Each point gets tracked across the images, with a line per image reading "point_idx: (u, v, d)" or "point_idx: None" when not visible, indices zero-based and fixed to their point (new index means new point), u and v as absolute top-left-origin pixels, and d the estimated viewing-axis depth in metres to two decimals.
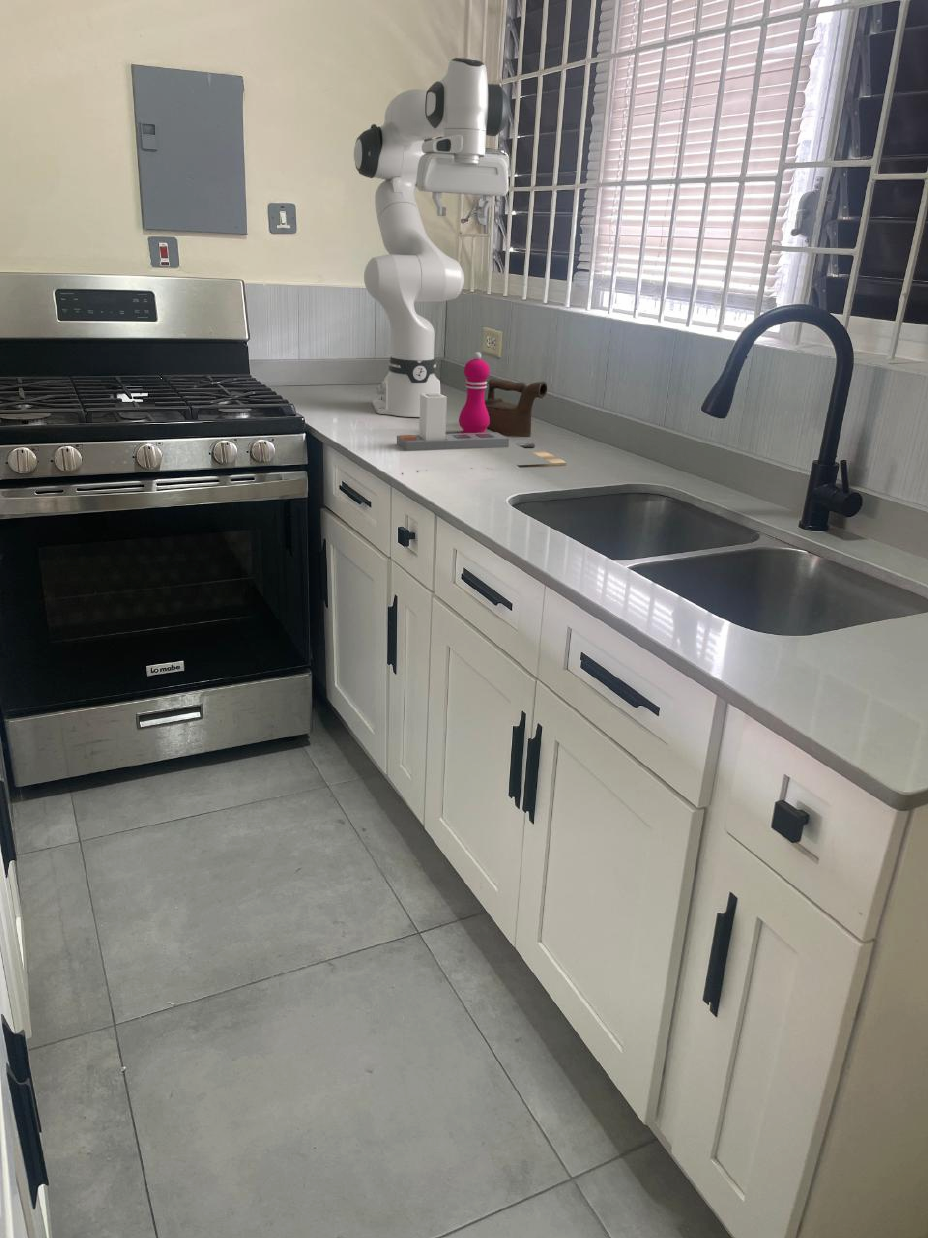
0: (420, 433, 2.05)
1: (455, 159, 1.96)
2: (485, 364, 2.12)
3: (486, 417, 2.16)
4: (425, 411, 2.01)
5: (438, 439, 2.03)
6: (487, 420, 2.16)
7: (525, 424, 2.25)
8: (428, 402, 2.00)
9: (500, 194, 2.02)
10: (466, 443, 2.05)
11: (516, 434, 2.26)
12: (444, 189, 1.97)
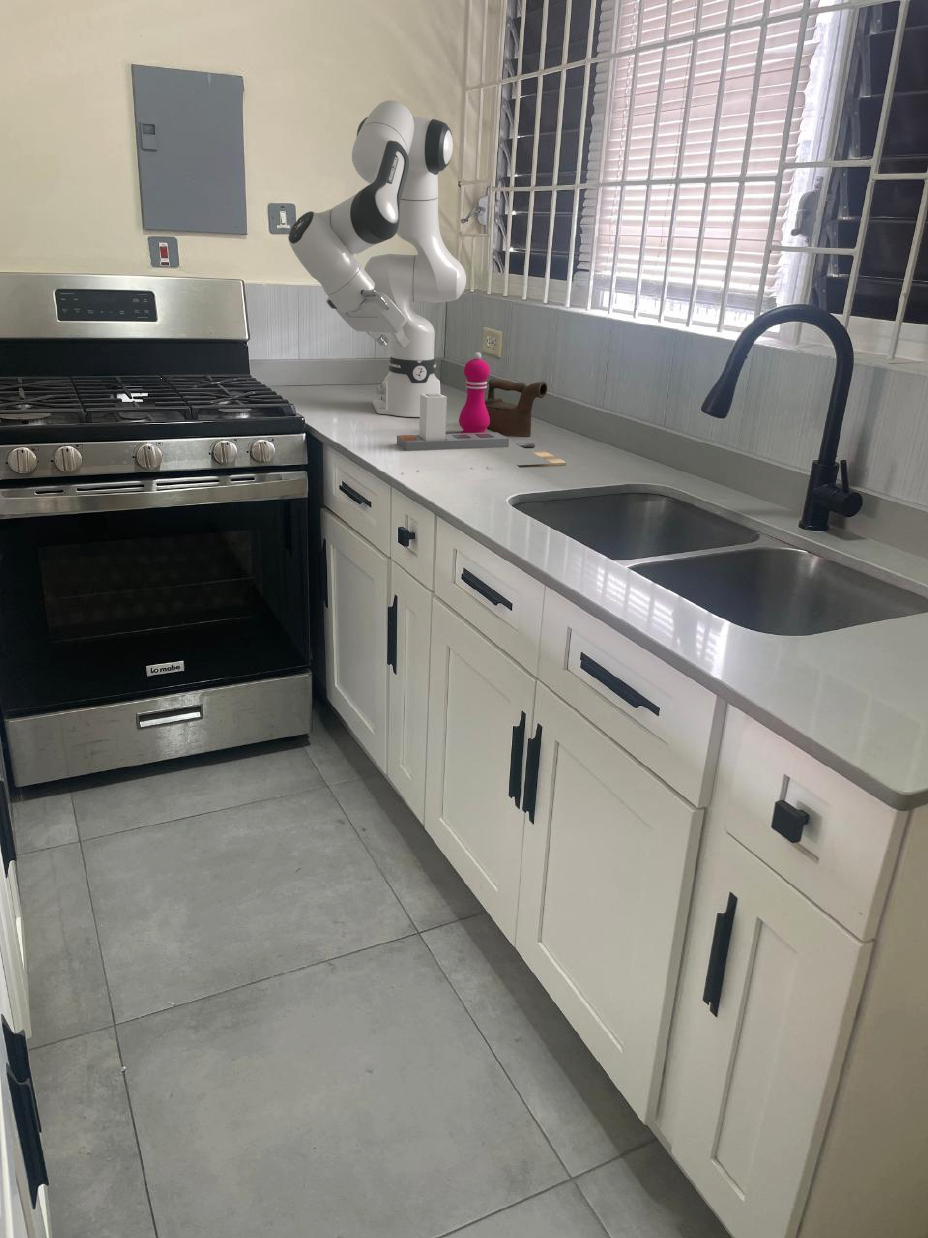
0: (420, 433, 2.05)
1: None
2: (485, 364, 2.12)
3: (486, 417, 2.16)
4: (425, 411, 2.01)
5: (438, 439, 2.03)
6: (487, 420, 2.16)
7: (525, 424, 2.25)
8: (428, 402, 2.00)
9: (392, 332, 1.84)
10: (466, 443, 2.05)
11: (516, 434, 2.26)
12: (364, 330, 1.94)
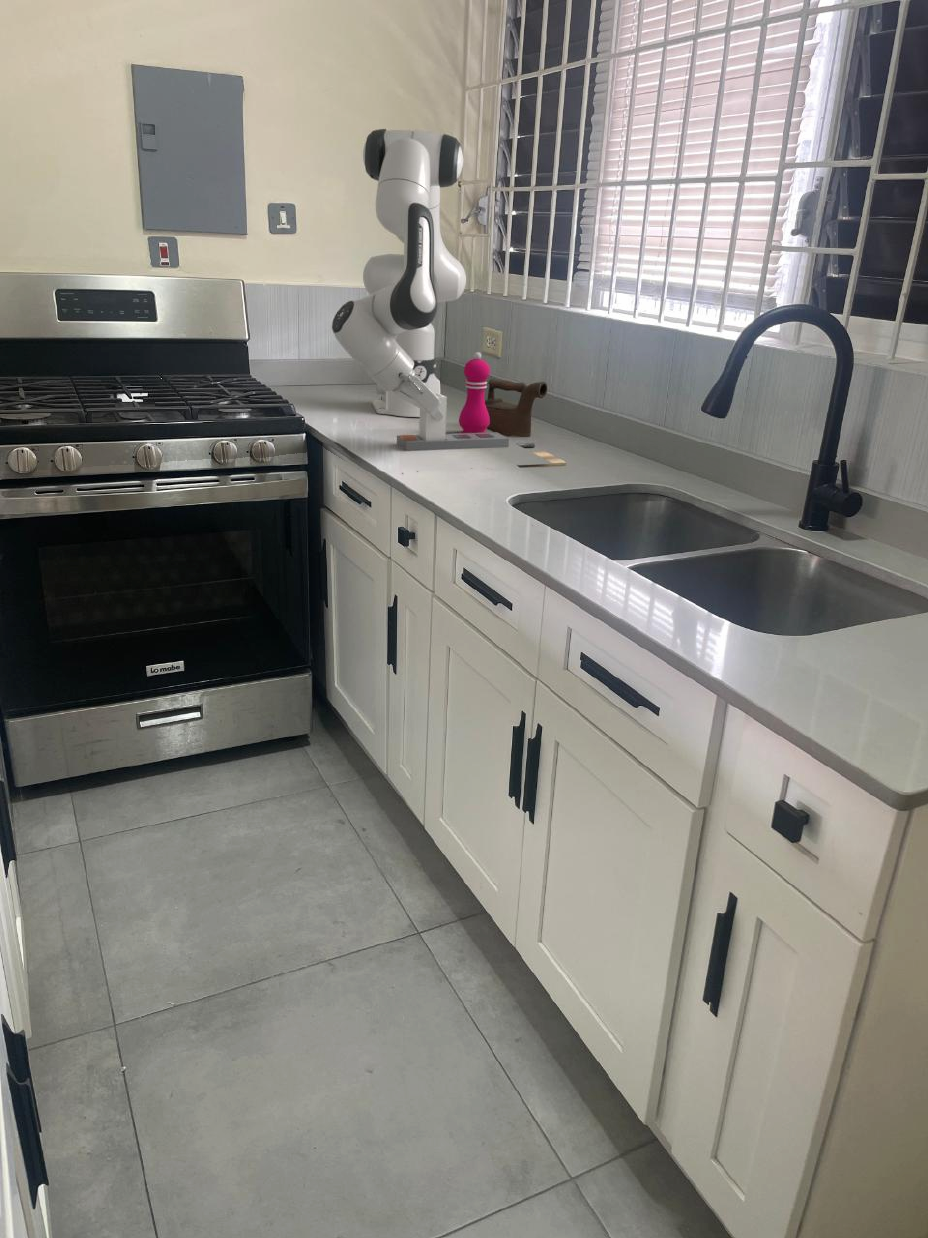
0: (420, 433, 2.05)
1: None
2: (485, 364, 2.12)
3: (486, 417, 2.16)
4: None
5: (438, 439, 2.03)
6: (487, 420, 2.16)
7: (525, 424, 2.25)
8: None
9: (428, 413, 1.94)
10: (466, 443, 2.05)
11: (516, 434, 2.26)
12: (407, 401, 2.05)
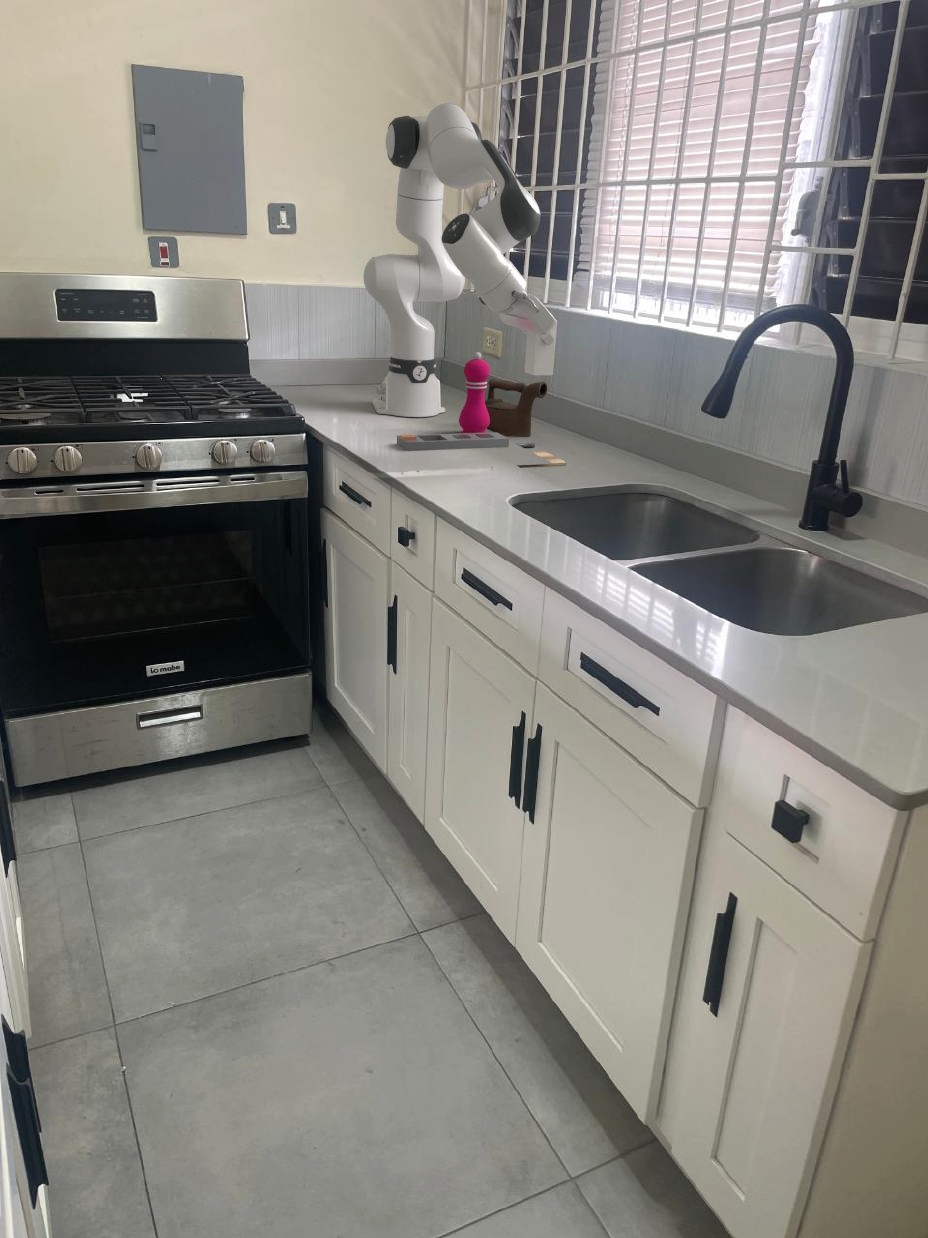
0: (527, 360, 1.95)
1: None
2: (485, 364, 2.12)
3: (486, 417, 2.16)
4: (534, 334, 1.91)
5: (546, 365, 1.93)
6: (487, 420, 2.16)
7: (525, 424, 2.25)
8: None
9: (541, 334, 1.84)
10: (466, 443, 2.05)
11: (516, 434, 2.26)
12: (513, 326, 1.95)
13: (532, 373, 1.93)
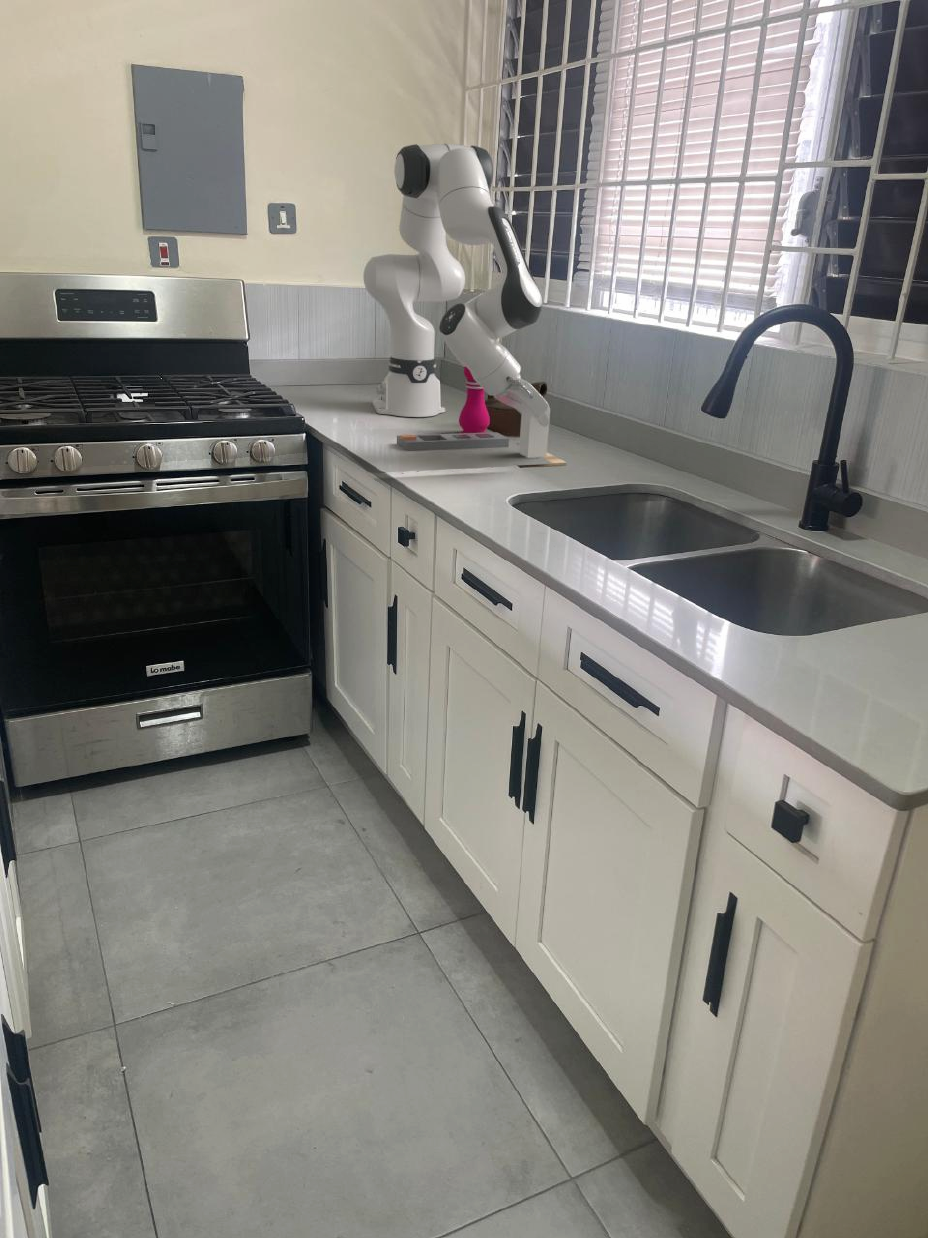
0: (521, 444, 2.02)
1: None
2: None
3: (486, 417, 2.16)
4: (528, 422, 1.98)
5: (540, 450, 2.00)
6: (487, 420, 2.16)
7: None
8: None
9: (535, 417, 1.90)
10: (466, 443, 2.05)
11: (516, 434, 2.26)
12: (508, 405, 2.01)
13: None
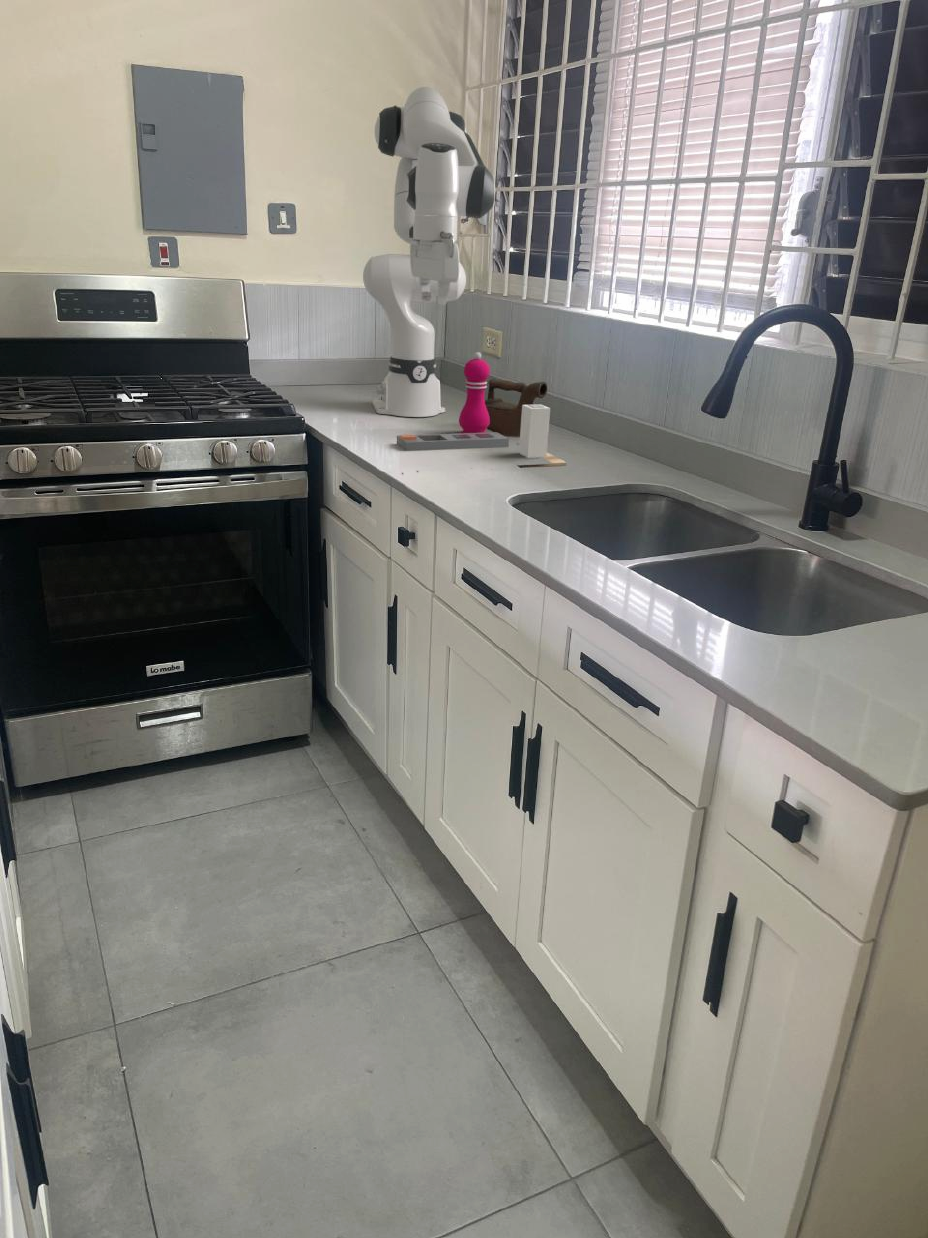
0: (521, 444, 2.02)
1: None
2: (485, 364, 2.12)
3: (486, 417, 2.16)
4: (528, 422, 1.98)
5: (540, 450, 2.00)
6: (487, 420, 2.16)
7: None
8: (532, 413, 1.96)
9: (439, 280, 1.87)
10: (466, 443, 2.05)
11: (516, 434, 2.26)
12: (418, 274, 1.98)
13: None
